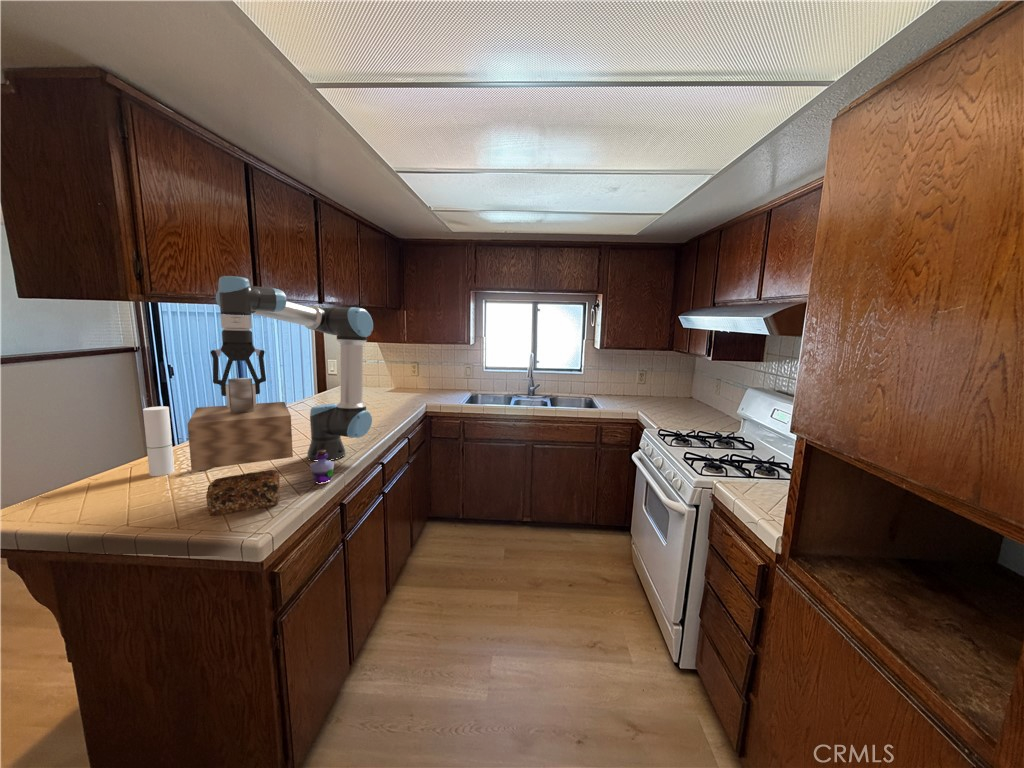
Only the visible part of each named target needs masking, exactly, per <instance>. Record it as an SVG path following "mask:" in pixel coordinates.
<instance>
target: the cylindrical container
mask: <svg viewBox="0 0 1024 768" xmlns="http://www.w3.org/2000/svg"><path fill="white" fill-rule="evenodd" d="M142 413H143V414H142V415H143V421H144V422H143V424H144V432H145V433H144V435H145V444H146V453H147V454H146V455H147V463H148V464H147V465H148V472H149V473H148V474H149V477H154V476H155V477H162V475H164V476H168V475H171V474H173V473H175V470H176V469H175V462H174V461H175V460H174V450H173V440H172V438H173V437H172V429H171V428H172V427H171V418H170V417H171V416H170V406H166V405H165V406H163V405H161V406H160V405H159V406H149V407H145V408H143V409H142ZM167 474H168V475H167Z"/></svg>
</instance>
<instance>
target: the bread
mask: <svg viewBox="0 0 1024 768" xmlns="http://www.w3.org/2000/svg"><path fill="white" fill-rule="evenodd" d="M280 484H281V483H280V472H279V471H278V470H275V469H274V470H273V469H269V470H260V471H257V472H256V471H255V472H247V473H243V474H242V473H241V474H238V475H231V476H230V475H229V476H226V477H223V476H222V477H220V478H219V477H218V478H216V479H214V480H213V481H211V482H210V484H208V487H207V491H206V494H205V495H206V506H207V511H208V513H209V516H210V517H215V516H217V515H226V514H233V513H237V512H238V513H239V512H245V511H251V510H255V509H256V510H257V509H262V508H263V509H264V508H267V507H268V508H269V507H272V506H276V505H278V504H279V501H280Z"/></svg>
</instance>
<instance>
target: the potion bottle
mask: <svg viewBox="0 0 1024 768" xmlns="http://www.w3.org/2000/svg"><path fill="white" fill-rule="evenodd" d="M326 458H328V453H326V450H319V451H317V454H316V459H318V461H316V462H315V461H313V462H311V463H310V464H309V465H310V466H309V468H310V472H311V476H313V479H314V483H315V482H318V483H321V482H326V481H328V480H331V478H332V475H333V474H334V467H335V460H333V461H329V460H326ZM331 481H332V480H331Z"/></svg>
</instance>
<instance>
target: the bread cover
mask: <svg viewBox="0 0 1024 768" xmlns="http://www.w3.org/2000/svg"><path fill="white" fill-rule="evenodd" d="M227 383H228V385H229V396H230V407H227V405H216V406H215V405H214V406H199V407H196V408H195V409H194V411H193V413H192V415H191V416H190V419H189V420H188V422H187V433H188V447H189V455H190V456H189V457H190V459H189V460H190V467H191V468H190V469H191V470H190V471H191V472H192V471H201V469H209V468H212V469H215V468H223V467H229V466H236V465H238V466H239V465H245V464H252V463H261V462H266V461H267V462H268V461H273V460H274V461H275V460H281V459H289V458H290V459H291V458H293V457H294V456H293V455H294V452H293V451H294V450H293V434H292V433H293V432H292V431H293V430H292V415H291V413H290V411H289V409H288V407H287V404H286V403H285V401H276V402H261V403H256V405H253V389H252V384H253V377H252V378H250V377H236V378H235V377H233V378H229V379H228V378H227ZM209 470H210V469H209Z"/></svg>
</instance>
